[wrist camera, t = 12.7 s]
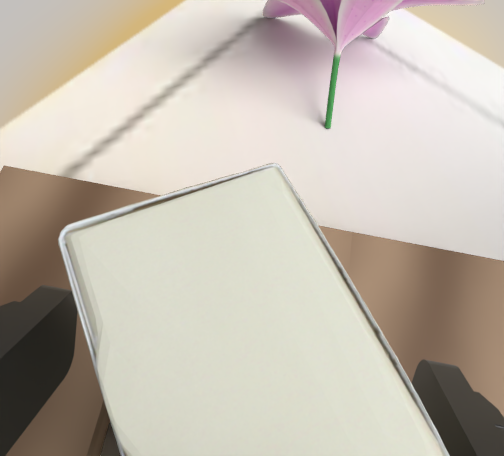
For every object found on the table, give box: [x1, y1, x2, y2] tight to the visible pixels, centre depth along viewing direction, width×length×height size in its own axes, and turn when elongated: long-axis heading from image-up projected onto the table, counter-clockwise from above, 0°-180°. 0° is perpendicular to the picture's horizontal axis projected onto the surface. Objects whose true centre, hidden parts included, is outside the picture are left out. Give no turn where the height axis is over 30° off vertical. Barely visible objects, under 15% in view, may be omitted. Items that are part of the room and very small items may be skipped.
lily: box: [263, 0, 484, 128], centre depth 24 cm, size 12×12×10 cm
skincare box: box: [58, 163, 450, 456], centre depth 12 cm, size 6×4×12 cm
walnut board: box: [0, 166, 504, 456], centre depth 17 cm, size 22×16×2 cm
